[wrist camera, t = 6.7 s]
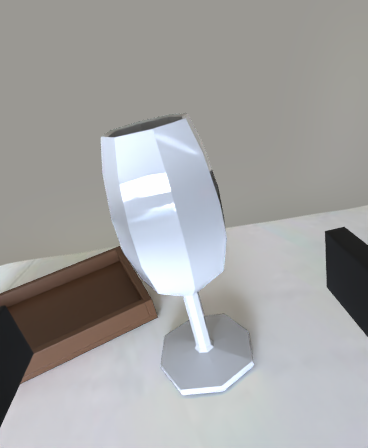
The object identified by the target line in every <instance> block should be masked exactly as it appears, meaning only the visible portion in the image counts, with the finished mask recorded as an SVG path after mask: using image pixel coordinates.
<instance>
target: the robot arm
mask: <svg viewBox="0 0 368 448" xmlns="http://www.w3.org/2000/svg"><path fill="white" fill-rule="evenodd" d="M325 243H326V274H327V288H328V289H329V290H330V291H331V293H332V294H333V295H334V296H335V298H336V299H337V300H338V301H339V302H340V304H341V305H342V306H343V307H344V309H345V310H346V311H347V312H348V313H349V315H350V316H351V317H352V318H353V319H354V321H355V322H356V323H357V324H358V326H359V327H360V328H361V329H362V330H363V332H364V333H365V334H366V335H367V337H368V245H367V244H366V243H364V242H363V241H362V240H361V239H359V238H358V237H357V236H355V235H354V234H353V233H352V232H350V231H349V230H348V229H346V228H345V227H341V228H337V229H333V230H328V231H325ZM33 354H34V353H33V351H32V349H31V348H30V346H29V344H28V343H27V341H26V339H25V337H24V336H23V334H22V332H21V331H20V329H19V327H18V326H17V324H16V322H15V321H14V319H13V317H12V315H11V314H10V312H9V310H8V309H7V307H6V305H4V306H0V426H1V424H2V422H3V420H4V418H5V416H6V413H7V411H8V409H9V407H10V405H11V402H12V400H13V398H14V396H15V394H16V392H17V389H18V387H19V385H20V383H21V381H22V378H23V376H24V374H25V372H26V370H27V368H28V365H29V363H30V361H31V359H32V357H33Z"/></svg>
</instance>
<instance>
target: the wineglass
mask: <svg viewBox="0 0 368 448" xmlns="http://www.w3.org/2000/svg"><path fill="white" fill-rule="evenodd" d="M101 152H102V173H103V179H104V184H105V189H106V194H107V200H108V205H109V210H110V215H111V220H112V223H113V226H114V228H115V231H116V234H117V237H118V239H119V242H120V245H121V248H122V251H123V253H124V254H125V256H126V257H127V258H128V260H129V261H130V263H131V264H132V266H133V267H134V268H135V270H136V271H137V273H138V274H139V276H140V277H141V278H142V280H144V281H145V282H146V283H147V284H148V285H149V286H150V287H152V288H153V289H154V290H155V291H156V292H157V293H158V294H166V295H175V296H183V298H184V302H185V306H186V309H187V313H188V316H189V320H188V321H186V322H185V323H183V324H182V325H180V326H179V327H177V328H176V329H174V330H173V331H171V332H170V333H168V334H167V335H165V338H164V345H163V352H162V358H161V369H162V370H163V371H164V372H165V374H166V375H167V376H168V378H169V379H170V380H171V381H172V383H173V384H174V385H175V386H176V388H177V389H178V390H179V391H180V393H181V394H182V395H189V394H200V393H211V392H222V391H224V390H226V389H227V388H228V387H229V386H230V385H232V384H233V383H234V382H235V381H236V380H238V379H239V378H240V377H241V376H242V375H244V374H245V373H246V372H247V371H248V370H250V369H251V368H252V367H253V366H254V361H253V355H252V349H251V343H250V337H249V332H248V331H247V330H246V329H245V328H243V327H242V326H240V325H239V324H238V323H236V322H235V321H234V320H232V319H231V318H230V317H228V316H227V315H226V314H217V315H209V316H205V315H204V311H203V308H202V304H201V300H200V296H199V291H200V290H201V289H202V288H203V287H205V286H206V285H207V284H208V283H209V282H211V281H212V280H213V279H214V278H215V277H217V276H218V275H219V274H220V273H221V272H223V271H224V263H225V251H226V240H227V237H226V229H225V222H224V215H223V210H222V205H221V200H220V194H219V189H218V185H217V182H216V179H215V176H214V174H213V170H212V167H211V165H210V162H209V159H208V156H207V153H206V150H205V148H204V145H203V142H202V141H201V138H200V136H199V135H198V132H197V131H196V129H195V127H194V125H193V123H192V121H191V119H190V117H189V115H188V114H187V113H183V114H170V115H165V116H161V117H157V118H153V119H148V120H144V121H139V122H136V123H133V124H130V125H126V126H123V127H120V128H116V129H113V130H110V131H109V132H107V133H106V134H104V135H103V136H101Z"/></svg>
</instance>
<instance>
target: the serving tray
mask: <svg viewBox="0 0 368 448" xmlns="http://www.w3.org/2000/svg"><path fill="white" fill-rule="evenodd" d="M4 305H6V307H7V309H8V310H9V312H10V314H11V315H12V317H13V319H14V321H15V322H16V324H17V326H18V327H19V329H20V331H21V332H22V334H23V336H24V337H25V339H26V341H27V343H28V344H29V346H30V348H31V349H32V351H33V353H34V354H33V357H32V359H31V361H30V363H29V365H28V368H27V370H26V372H25V374H24V376H23V378H22V381H21V383H23V382H25V381H27V380H29V379H31V378H34V377H36V376H38V375H40V374H42V373H44V372H46V371H48V370H50V369H52V368H54V367H56V366H58V365H60V364H62V363H64V362H66V361H69V360H71V359H73V358H75V357H77V356H79V355H81V354H83V353H85V352H87V351H89V350H91V349H93V348H95V347H97V346H99V345H101V344H104V343H106V342H108V341H110V340H112V339H114V338H116V337H118V336H120V335H122V334H124V333H126V332H128V331H130V330H132V329H134V328H137V327H139V326H141V325H143V324H145V323H147V322H149V321H151V320H153V319H155V318H157V317H158V316H157V313H156V310H155V308H154V305H153V302H152V299H151V297H150V296H149V294H148V292H147V291H146V289H145V287H144V286H143V284H142V282H141V281H140V279H139V277H138V276H137V274H136V272H135V271H134V269H133V267H132V266H131V264H130V262H129V261H128V259H127V257H126V256H125V254H124V253H123V251H122V249H121V247H120V246H118V247H116V248H113V249H111V250H108V251H106V252H103V253H101V254H98V255H96V256H93V257H91V258H88V259H86V260H83V261H81V262H78V263H76V264H73V265H71V266H68V267H66V268H63V269H61V270H58V271H56V272H53V273H51V274H48V275H46V276H43V277H41V278H38V279H36V280H33V281H31V282H28V283H26V284H23V285H21V286H18V287H16V288H13V289H11V290H8V291H6V292H3V293H1V294H0V306H4ZM21 383H20V384H21Z"/></svg>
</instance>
